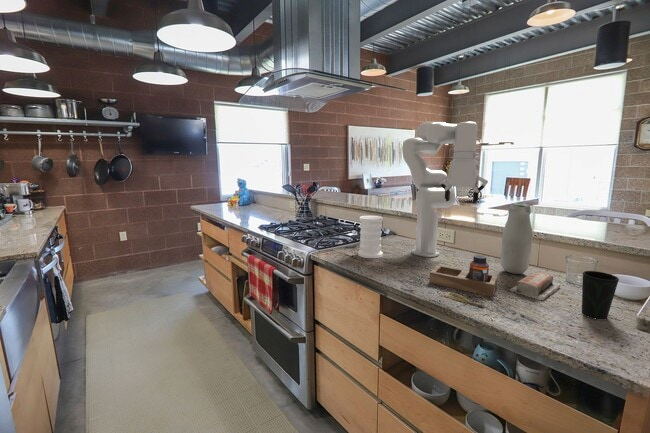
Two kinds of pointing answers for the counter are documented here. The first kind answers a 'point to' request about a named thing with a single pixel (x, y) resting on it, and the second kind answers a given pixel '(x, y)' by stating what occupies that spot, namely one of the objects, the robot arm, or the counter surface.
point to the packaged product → (536, 286)
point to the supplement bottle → (479, 268)
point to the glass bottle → (517, 239)
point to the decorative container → (370, 237)
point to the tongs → (462, 300)
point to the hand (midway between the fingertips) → (460, 201)
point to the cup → (598, 293)
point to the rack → (462, 280)
